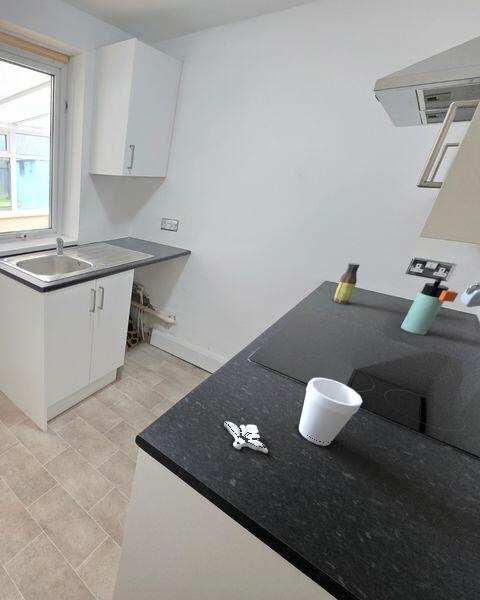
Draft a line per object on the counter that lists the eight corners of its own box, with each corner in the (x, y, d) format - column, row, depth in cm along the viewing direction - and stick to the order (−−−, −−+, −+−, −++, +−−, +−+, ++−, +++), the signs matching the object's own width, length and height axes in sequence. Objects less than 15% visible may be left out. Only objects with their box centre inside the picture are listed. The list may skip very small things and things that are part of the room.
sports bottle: (431, 336, 126) (462, 282, 117) (409, 333, 127) (438, 279, 118) (416, 327, 133) (444, 275, 124) (396, 324, 134) (422, 273, 125)
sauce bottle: (351, 304, 154) (367, 266, 146) (340, 304, 153) (356, 265, 145) (339, 299, 160) (354, 262, 152) (328, 299, 159) (343, 262, 151)
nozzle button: (453, 302, 117) (458, 293, 116) (442, 300, 118) (447, 291, 116) (449, 300, 119) (454, 291, 117) (438, 298, 119) (443, 290, 118)
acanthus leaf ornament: (223, 425, 75) (225, 419, 74) (252, 427, 75) (254, 421, 74) (235, 450, 68) (238, 444, 67) (267, 453, 68) (270, 447, 67)
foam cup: (287, 434, 73) (306, 390, 68) (294, 414, 80) (312, 372, 75) (337, 458, 68) (361, 412, 63) (340, 434, 74) (363, 391, 69)
